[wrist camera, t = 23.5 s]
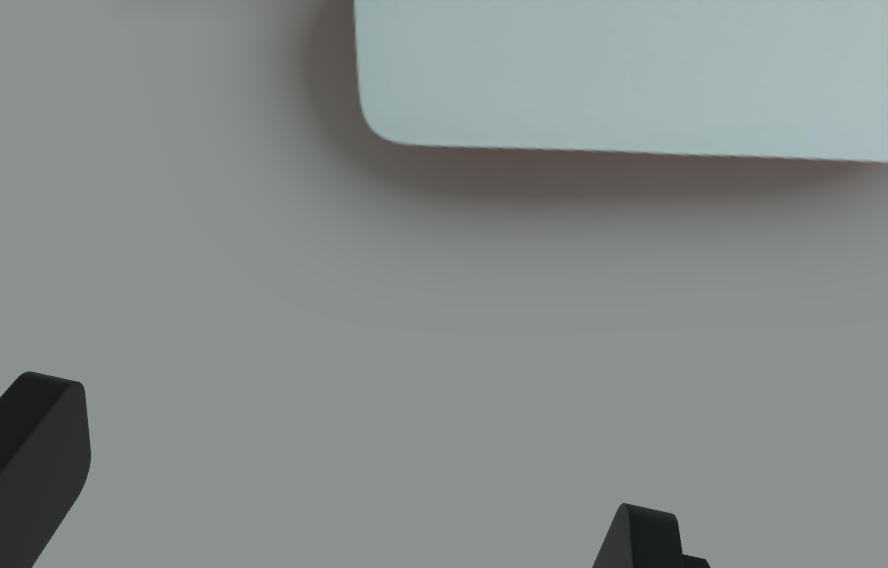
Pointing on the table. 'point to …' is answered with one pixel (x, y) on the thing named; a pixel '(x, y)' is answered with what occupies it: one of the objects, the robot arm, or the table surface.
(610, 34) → the table surface
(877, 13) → the table surface
